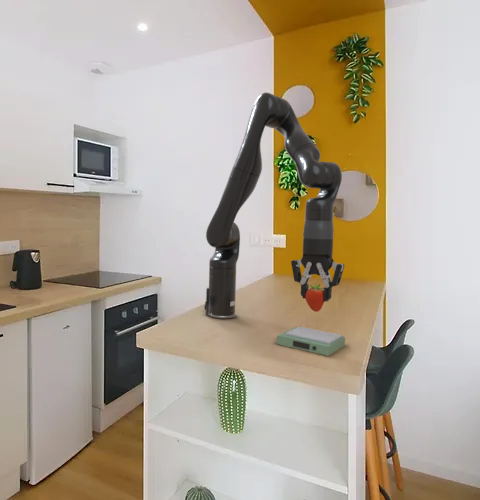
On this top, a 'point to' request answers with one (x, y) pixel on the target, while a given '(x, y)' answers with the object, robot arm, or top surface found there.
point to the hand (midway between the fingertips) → (315, 299)
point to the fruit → (315, 298)
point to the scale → (311, 340)
